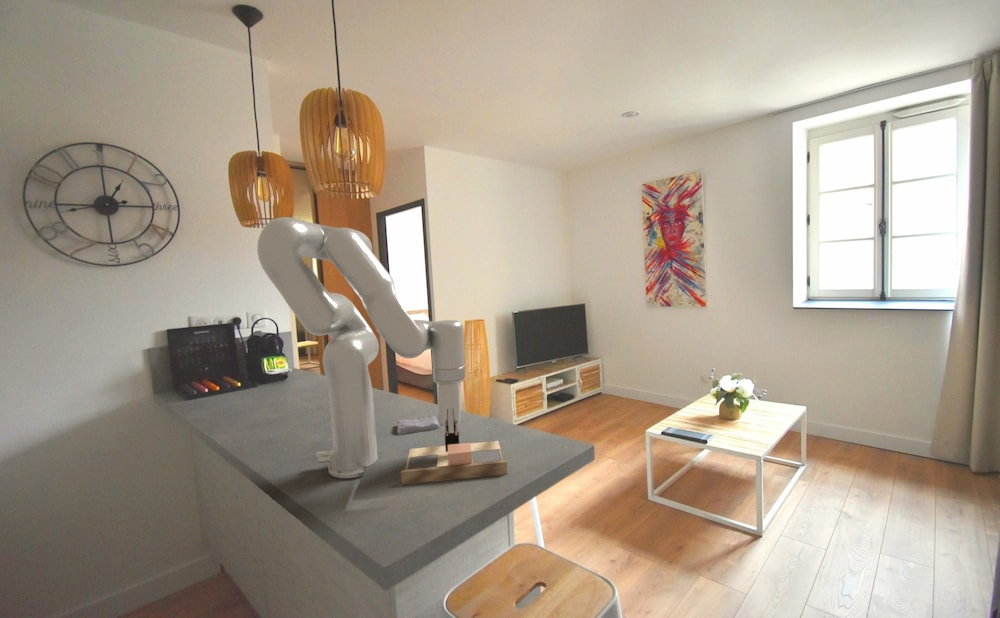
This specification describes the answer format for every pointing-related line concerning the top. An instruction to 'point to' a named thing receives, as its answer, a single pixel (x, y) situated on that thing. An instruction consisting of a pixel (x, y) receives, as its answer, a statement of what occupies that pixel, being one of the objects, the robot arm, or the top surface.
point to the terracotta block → (459, 454)
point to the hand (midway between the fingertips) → (452, 449)
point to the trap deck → (453, 470)
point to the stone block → (417, 425)
